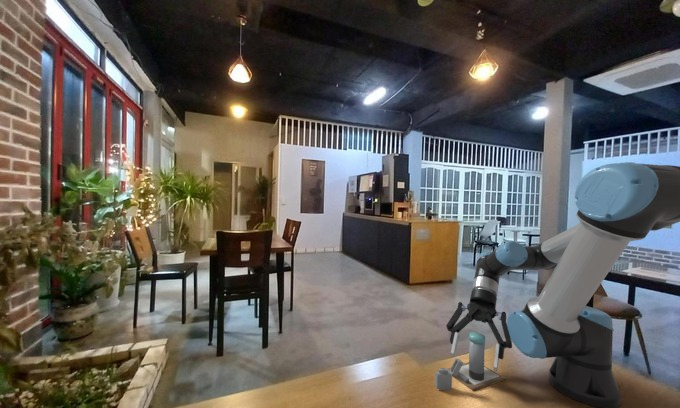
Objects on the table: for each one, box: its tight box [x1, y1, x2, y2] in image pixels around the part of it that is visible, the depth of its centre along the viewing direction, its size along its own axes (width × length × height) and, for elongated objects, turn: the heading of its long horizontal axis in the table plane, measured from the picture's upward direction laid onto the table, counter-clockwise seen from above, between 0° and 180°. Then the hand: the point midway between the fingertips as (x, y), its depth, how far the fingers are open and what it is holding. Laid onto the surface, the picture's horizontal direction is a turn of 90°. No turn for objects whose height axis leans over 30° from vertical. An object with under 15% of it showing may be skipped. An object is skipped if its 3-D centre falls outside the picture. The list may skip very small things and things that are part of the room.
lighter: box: [434, 357, 464, 391], centre depth 78 cm, size 7×2×8 cm, turn 92°
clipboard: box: [447, 361, 505, 392], centre depth 84 cm, size 10×13×2 cm
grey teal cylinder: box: [468, 331, 486, 381], centre depth 82 cm, size 4×4×12 cm
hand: (473, 361), depth 80 cm, fingers open, 10 cm apart
